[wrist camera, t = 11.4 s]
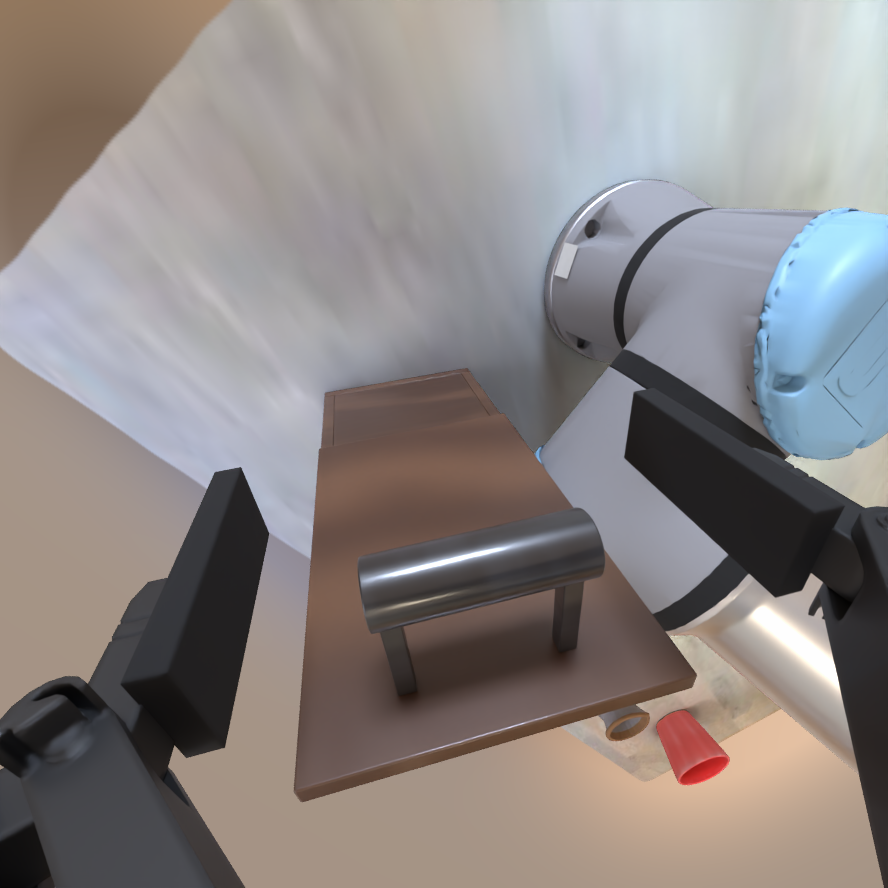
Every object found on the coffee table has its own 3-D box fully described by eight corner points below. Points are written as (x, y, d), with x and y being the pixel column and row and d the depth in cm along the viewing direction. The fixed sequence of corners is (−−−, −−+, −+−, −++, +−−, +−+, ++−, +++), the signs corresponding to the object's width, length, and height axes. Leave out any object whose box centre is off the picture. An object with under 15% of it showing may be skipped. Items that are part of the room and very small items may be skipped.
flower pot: (648, 717, 89) (680, 771, 80) (697, 699, 89) (733, 750, 81) (648, 739, 94) (677, 791, 86) (693, 722, 95) (727, 772, 86)
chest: (478, 519, 51) (507, 587, 42) (365, 545, 49) (371, 620, 41) (467, 367, 41) (502, 415, 32) (324, 392, 39) (320, 450, 30)
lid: (693, 688, 15) (750, 544, 11) (300, 804, 13) (213, 679, 10) (504, 422, 32) (502, 330, 28) (321, 458, 30) (293, 364, 27)
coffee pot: (627, 638, 71) (689, 734, 59) (571, 675, 74) (620, 775, 61) (565, 584, 61) (624, 687, 48) (502, 629, 63) (543, 738, 50)
